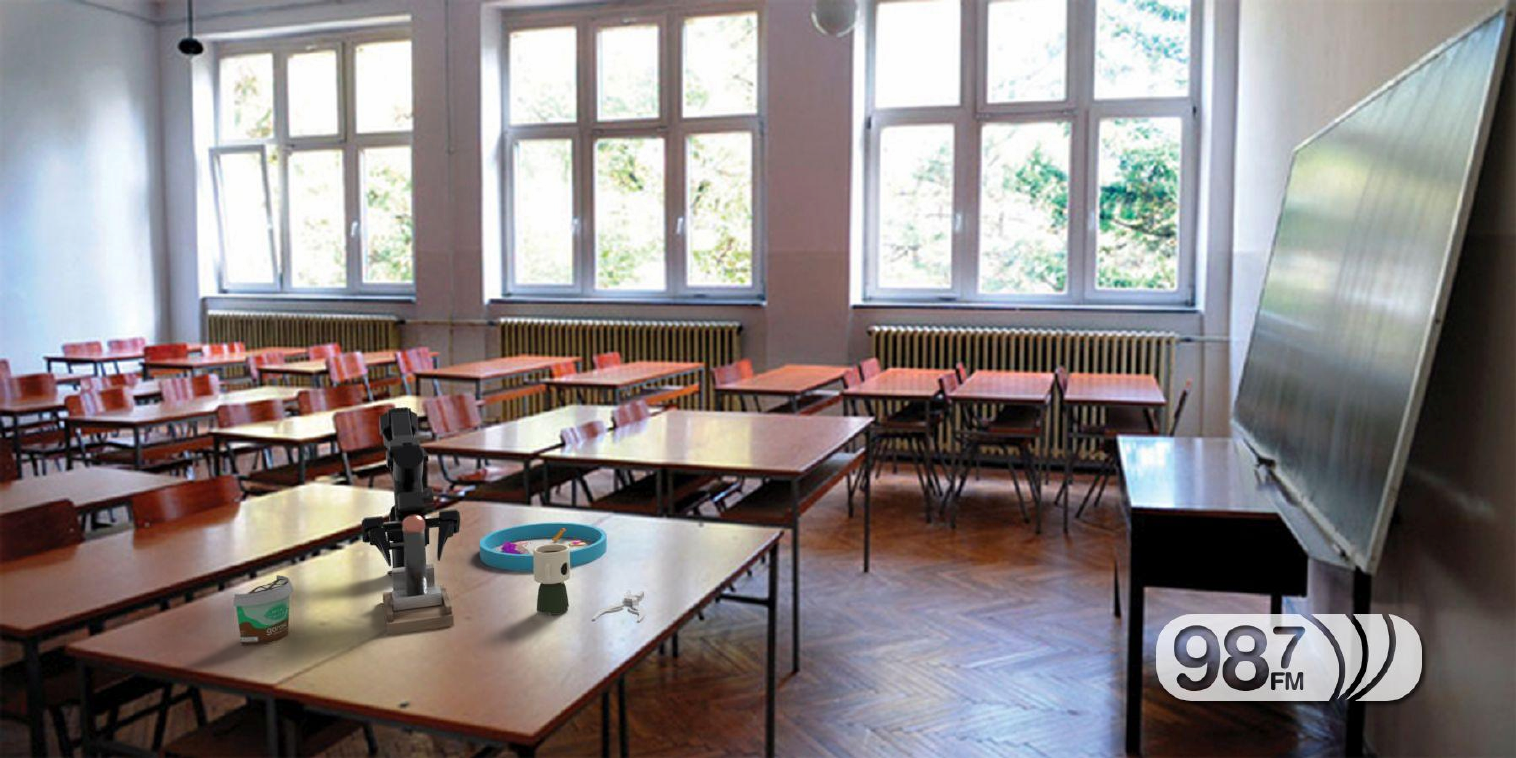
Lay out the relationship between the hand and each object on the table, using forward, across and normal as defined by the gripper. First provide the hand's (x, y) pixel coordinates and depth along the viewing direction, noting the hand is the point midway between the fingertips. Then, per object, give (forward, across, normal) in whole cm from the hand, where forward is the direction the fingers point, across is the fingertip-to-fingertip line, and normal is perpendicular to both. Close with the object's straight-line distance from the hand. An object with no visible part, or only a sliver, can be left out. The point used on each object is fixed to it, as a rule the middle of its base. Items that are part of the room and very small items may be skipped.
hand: (414, 562), depth 195 cm
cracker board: (+8, 0, +7) cm, 10 cm away
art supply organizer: (-15, +31, +31) cm, 47 cm away
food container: (+10, -26, +5) cm, 28 cm away
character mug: (+15, +25, 0) cm, 29 cm away
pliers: (+18, +39, -3) cm, 43 cm away
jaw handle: (+7, 0, +4) cm, 8 cm away
